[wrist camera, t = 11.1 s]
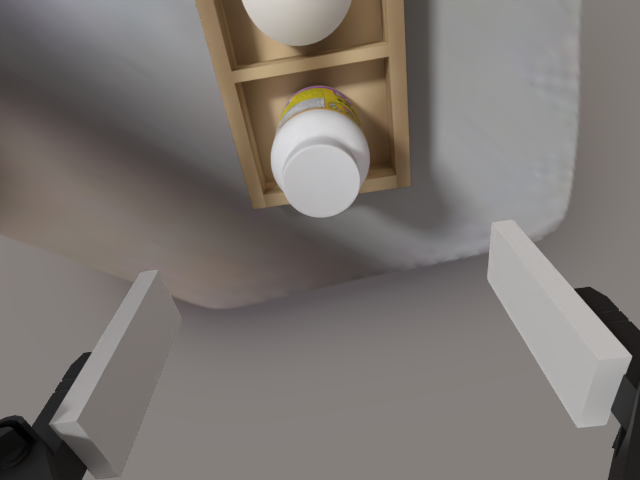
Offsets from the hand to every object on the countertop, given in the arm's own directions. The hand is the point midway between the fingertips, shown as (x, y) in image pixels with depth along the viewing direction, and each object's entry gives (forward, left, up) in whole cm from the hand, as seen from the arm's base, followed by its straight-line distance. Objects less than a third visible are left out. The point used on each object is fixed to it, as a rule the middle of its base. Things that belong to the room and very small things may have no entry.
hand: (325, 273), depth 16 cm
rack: (0, +5, -23) cm, 23 cm away
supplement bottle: (0, 0, -22) cm, 22 cm away
